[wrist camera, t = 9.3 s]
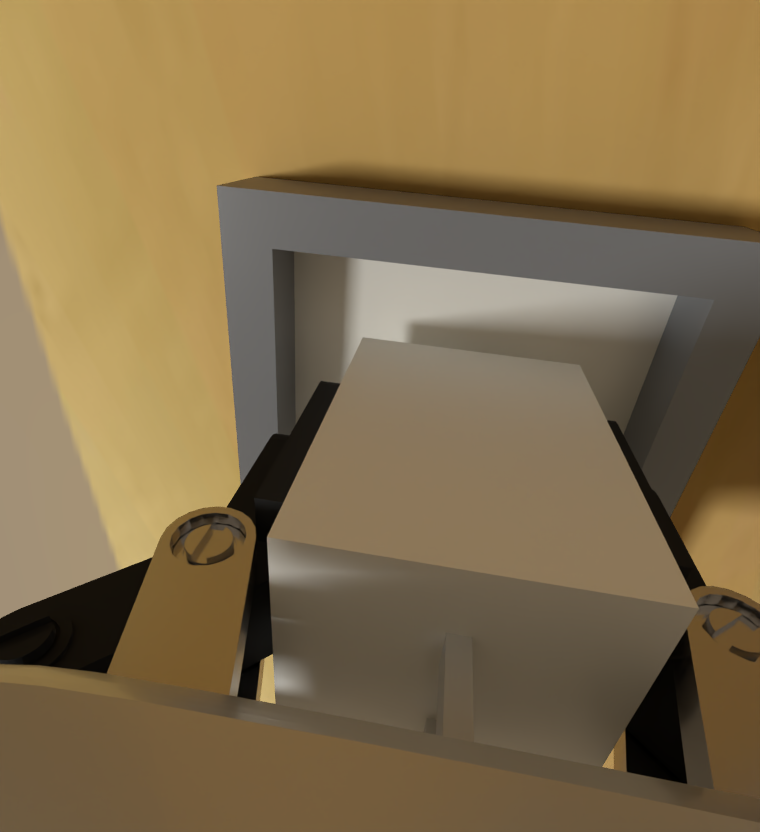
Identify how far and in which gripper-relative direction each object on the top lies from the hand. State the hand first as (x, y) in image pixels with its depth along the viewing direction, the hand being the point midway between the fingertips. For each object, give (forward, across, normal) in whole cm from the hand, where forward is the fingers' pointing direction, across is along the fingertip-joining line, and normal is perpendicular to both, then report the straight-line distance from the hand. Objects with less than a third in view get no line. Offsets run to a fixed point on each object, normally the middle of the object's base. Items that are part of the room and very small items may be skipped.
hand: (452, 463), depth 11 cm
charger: (+1, 0, 0) cm, 1 cm away
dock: (+2, 0, 0) cm, 2 cm away
